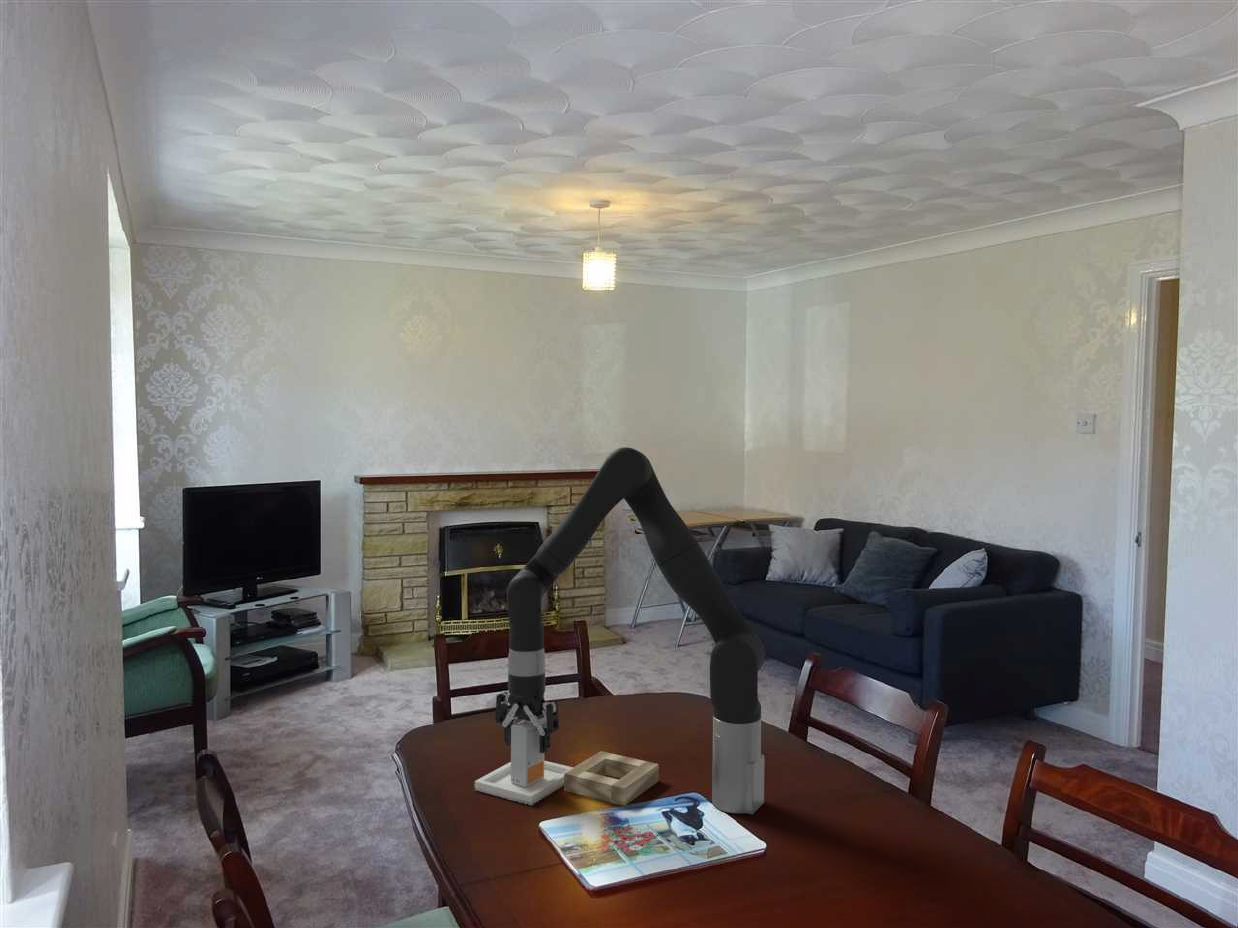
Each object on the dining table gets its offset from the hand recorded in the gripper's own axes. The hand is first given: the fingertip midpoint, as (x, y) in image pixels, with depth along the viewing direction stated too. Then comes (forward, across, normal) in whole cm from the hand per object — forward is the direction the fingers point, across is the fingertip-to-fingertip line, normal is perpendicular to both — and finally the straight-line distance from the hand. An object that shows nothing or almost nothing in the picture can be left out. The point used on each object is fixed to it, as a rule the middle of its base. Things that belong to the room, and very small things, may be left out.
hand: (526, 748), depth 178 cm
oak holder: (+7, -16, -8) cm, 19 cm away
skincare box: (+7, 0, 0) cm, 7 cm away
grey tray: (+7, 0, 0) cm, 7 cm away
